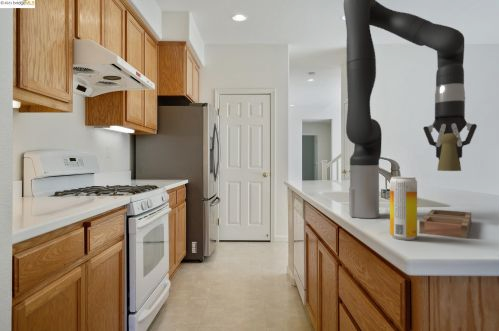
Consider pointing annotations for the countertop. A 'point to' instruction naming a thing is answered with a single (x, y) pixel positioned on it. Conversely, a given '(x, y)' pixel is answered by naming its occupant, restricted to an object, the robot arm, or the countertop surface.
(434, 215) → the rail
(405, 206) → the beer can
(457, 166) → the cork
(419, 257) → the countertop surface
